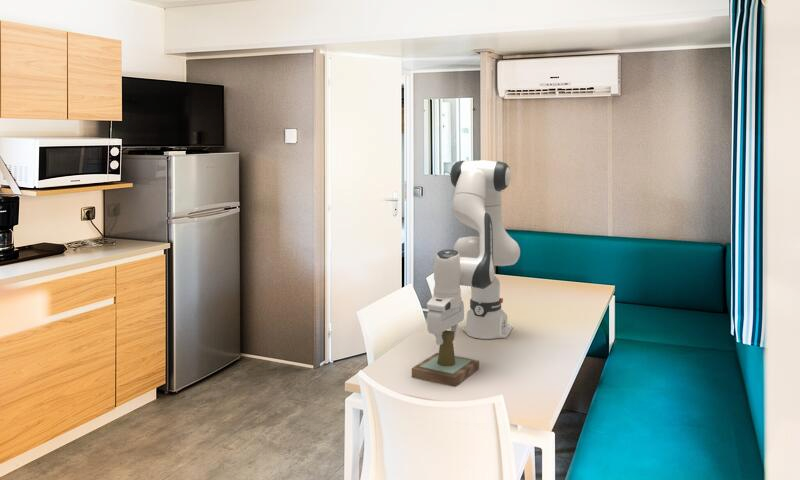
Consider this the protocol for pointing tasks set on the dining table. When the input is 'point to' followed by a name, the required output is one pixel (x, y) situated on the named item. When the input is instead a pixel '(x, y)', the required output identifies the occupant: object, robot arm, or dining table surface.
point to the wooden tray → (445, 370)
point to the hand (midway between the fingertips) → (446, 340)
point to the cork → (446, 350)
